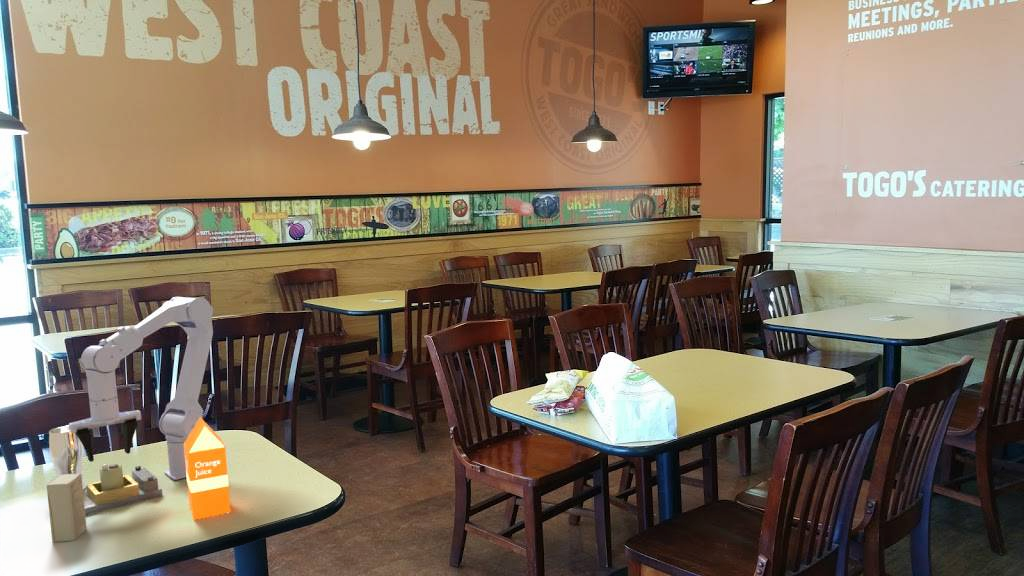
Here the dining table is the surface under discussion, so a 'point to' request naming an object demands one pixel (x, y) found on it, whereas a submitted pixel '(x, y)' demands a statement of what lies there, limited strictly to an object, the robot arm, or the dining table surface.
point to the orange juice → (206, 472)
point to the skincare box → (66, 507)
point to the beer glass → (66, 451)
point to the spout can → (111, 477)
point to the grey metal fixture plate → (122, 492)
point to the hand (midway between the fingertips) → (109, 456)
